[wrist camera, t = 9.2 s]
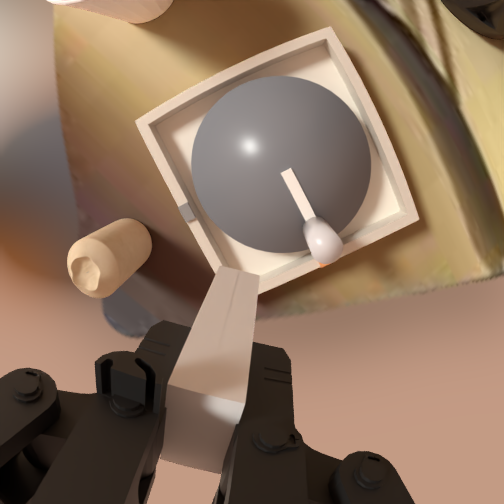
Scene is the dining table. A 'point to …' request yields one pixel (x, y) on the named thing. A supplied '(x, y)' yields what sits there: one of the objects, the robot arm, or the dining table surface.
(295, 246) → the dial
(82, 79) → the dining table surface
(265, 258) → the dial plate
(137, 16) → the cup
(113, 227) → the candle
